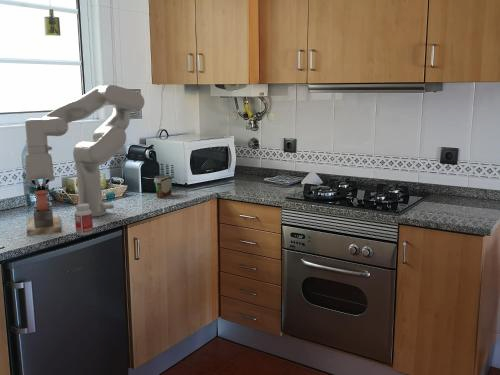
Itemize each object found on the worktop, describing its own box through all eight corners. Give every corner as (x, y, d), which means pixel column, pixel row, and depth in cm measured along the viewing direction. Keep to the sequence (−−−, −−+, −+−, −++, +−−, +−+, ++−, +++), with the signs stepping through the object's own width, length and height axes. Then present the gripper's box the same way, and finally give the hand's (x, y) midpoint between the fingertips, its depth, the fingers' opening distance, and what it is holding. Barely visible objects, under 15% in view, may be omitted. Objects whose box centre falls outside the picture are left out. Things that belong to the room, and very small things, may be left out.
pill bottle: (95, 231, 202) (93, 202, 200) (90, 235, 196) (88, 206, 194) (79, 231, 203) (77, 203, 201) (73, 236, 197) (71, 206, 195)
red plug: (49, 212, 207) (47, 189, 205) (49, 214, 203) (47, 191, 201) (37, 213, 205) (35, 190, 204) (37, 215, 201) (34, 192, 200)
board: (59, 219, 222) (58, 200, 221) (61, 232, 202) (59, 211, 201) (28, 222, 218) (27, 203, 217) (27, 235, 198) (25, 214, 197)
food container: (162, 193, 274) (161, 174, 272) (172, 194, 272) (172, 175, 270) (150, 198, 262) (149, 178, 261) (161, 199, 260) (160, 179, 259)
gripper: (57, 148, 216) (61, 192, 219) (17, 150, 211) (21, 195, 214) (58, 150, 209) (61, 196, 212) (16, 152, 204) (21, 199, 207)
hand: (41, 195), depth 213 cm, fingers closed
